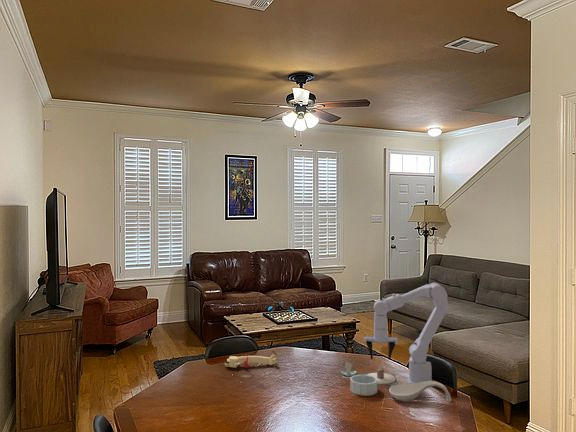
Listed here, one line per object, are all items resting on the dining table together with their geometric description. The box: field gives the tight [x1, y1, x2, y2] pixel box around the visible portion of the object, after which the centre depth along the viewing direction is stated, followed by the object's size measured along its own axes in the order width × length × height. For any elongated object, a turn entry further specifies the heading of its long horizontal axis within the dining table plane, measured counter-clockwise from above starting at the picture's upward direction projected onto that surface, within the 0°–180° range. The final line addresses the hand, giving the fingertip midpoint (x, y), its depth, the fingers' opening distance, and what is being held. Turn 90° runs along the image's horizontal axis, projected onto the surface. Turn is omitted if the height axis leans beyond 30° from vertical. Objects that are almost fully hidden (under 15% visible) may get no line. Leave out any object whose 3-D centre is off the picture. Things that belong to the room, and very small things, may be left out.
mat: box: [363, 372, 399, 386], centre depth 207 cm, size 14×14×1 cm
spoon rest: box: [388, 380, 452, 403], centre depth 186 cm, size 24×12×7 cm, turn 85°
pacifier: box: [340, 361, 357, 379], centre depth 211 cm, size 7×6×6 cm
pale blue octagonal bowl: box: [349, 374, 378, 396], centre depth 194 cm, size 11×11×5 cm
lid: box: [367, 368, 397, 384], centre depth 207 cm, size 13×13×4 cm
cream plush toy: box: [224, 349, 278, 369], centre depth 226 cm, size 10×9×25 cm
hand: (380, 358), depth 207 cm, fingers open, 7 cm apart
